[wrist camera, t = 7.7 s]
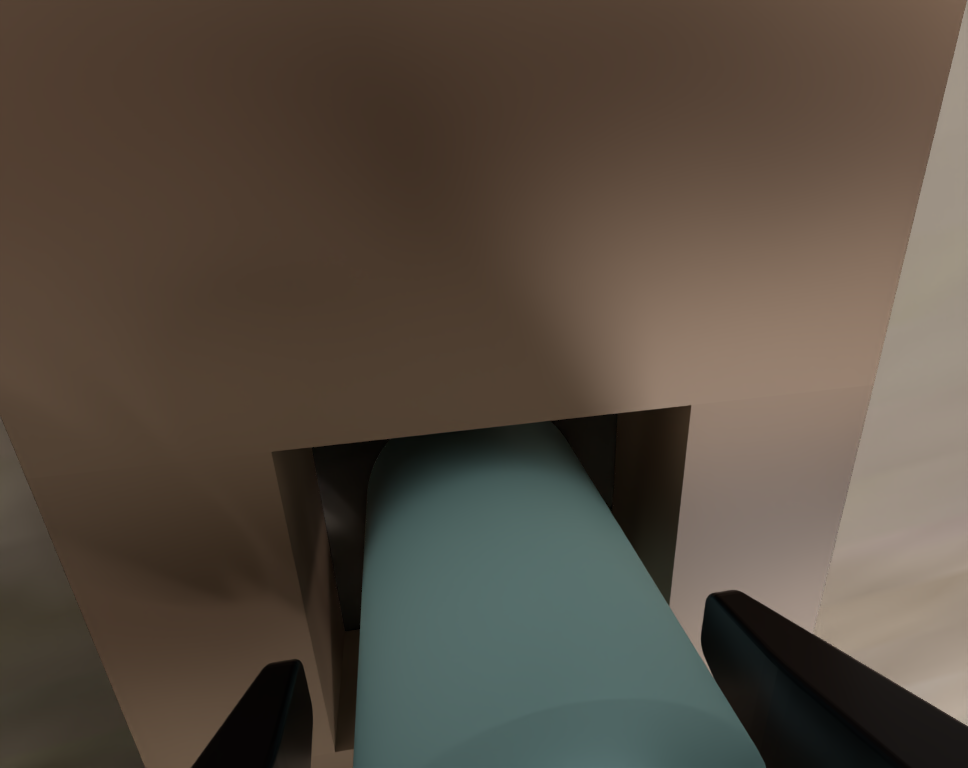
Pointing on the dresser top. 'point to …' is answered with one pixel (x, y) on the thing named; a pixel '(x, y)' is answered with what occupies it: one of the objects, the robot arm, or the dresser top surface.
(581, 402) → the rail
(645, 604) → the teal peg
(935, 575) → the dresser top surface
